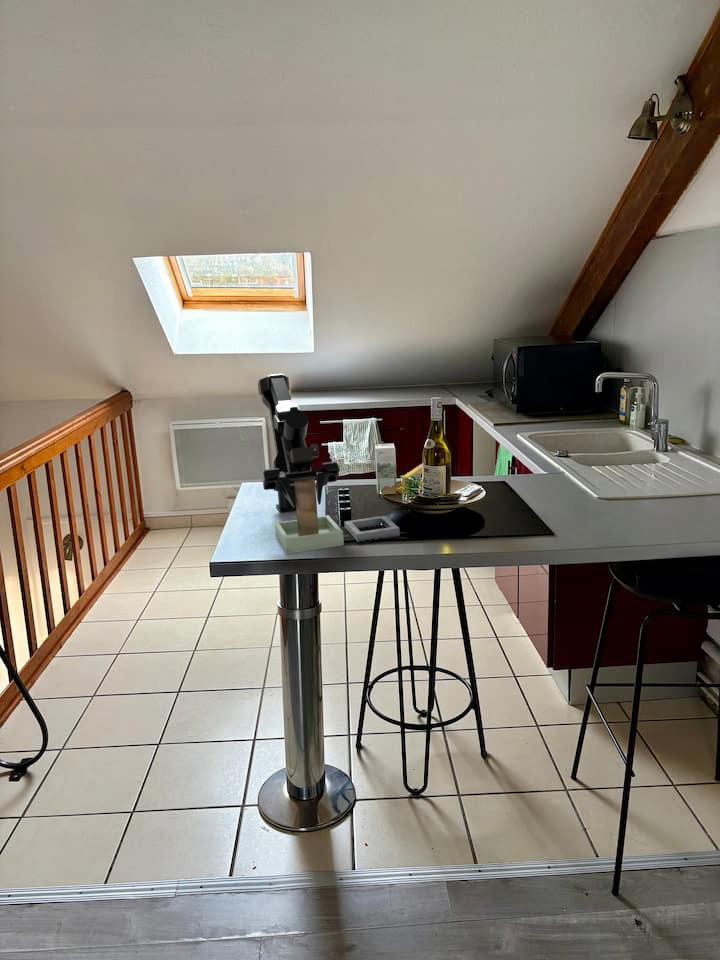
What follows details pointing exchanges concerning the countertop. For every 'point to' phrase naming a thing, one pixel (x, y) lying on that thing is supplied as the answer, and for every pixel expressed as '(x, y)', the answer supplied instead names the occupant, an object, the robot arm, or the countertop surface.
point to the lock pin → (306, 507)
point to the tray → (326, 538)
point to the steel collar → (386, 532)
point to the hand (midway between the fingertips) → (307, 505)
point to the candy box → (412, 474)
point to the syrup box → (385, 465)
